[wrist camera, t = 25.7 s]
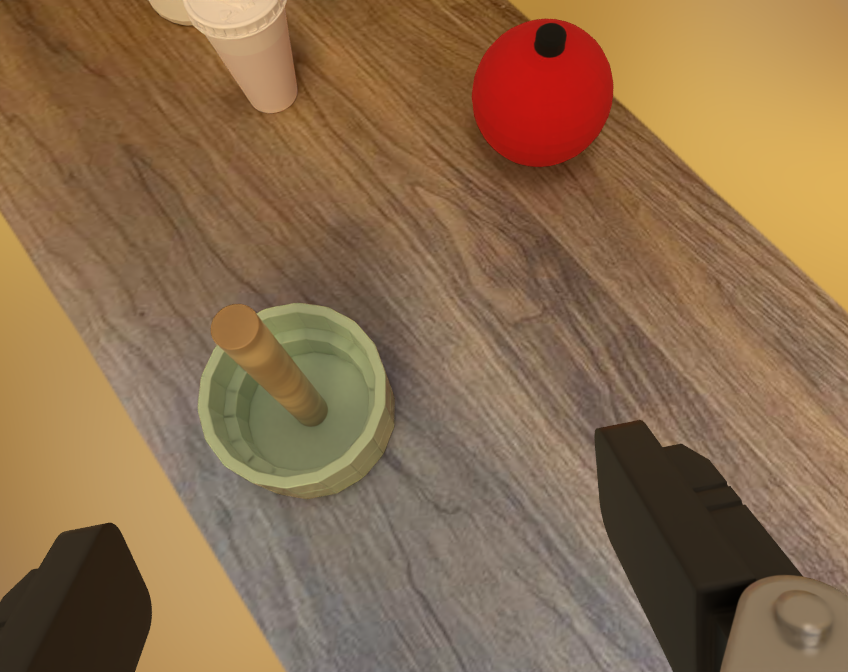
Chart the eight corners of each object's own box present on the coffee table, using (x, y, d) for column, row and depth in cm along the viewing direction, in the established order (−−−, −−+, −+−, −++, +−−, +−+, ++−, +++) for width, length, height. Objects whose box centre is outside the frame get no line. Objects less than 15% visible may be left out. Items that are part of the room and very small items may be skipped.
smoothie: (284, 43, 52) (224, -136, 39) (332, 96, 50) (286, -74, 37) (214, 88, 51) (128, -81, 38) (261, 144, 49) (187, -14, 36)
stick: (325, 392, 42) (256, 299, 28) (329, 423, 41) (261, 344, 27) (293, 398, 42) (208, 308, 28) (297, 429, 41) (211, 353, 27)
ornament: (514, 66, 50) (527, -51, 41) (622, 121, 48) (661, 11, 39) (446, 153, 48) (442, 51, 39) (555, 215, 46) (579, 122, 37)
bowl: (409, 481, 41) (401, 466, 35) (239, 514, 41) (203, 504, 35) (383, 325, 44) (371, 288, 38) (226, 354, 44) (191, 321, 38)
